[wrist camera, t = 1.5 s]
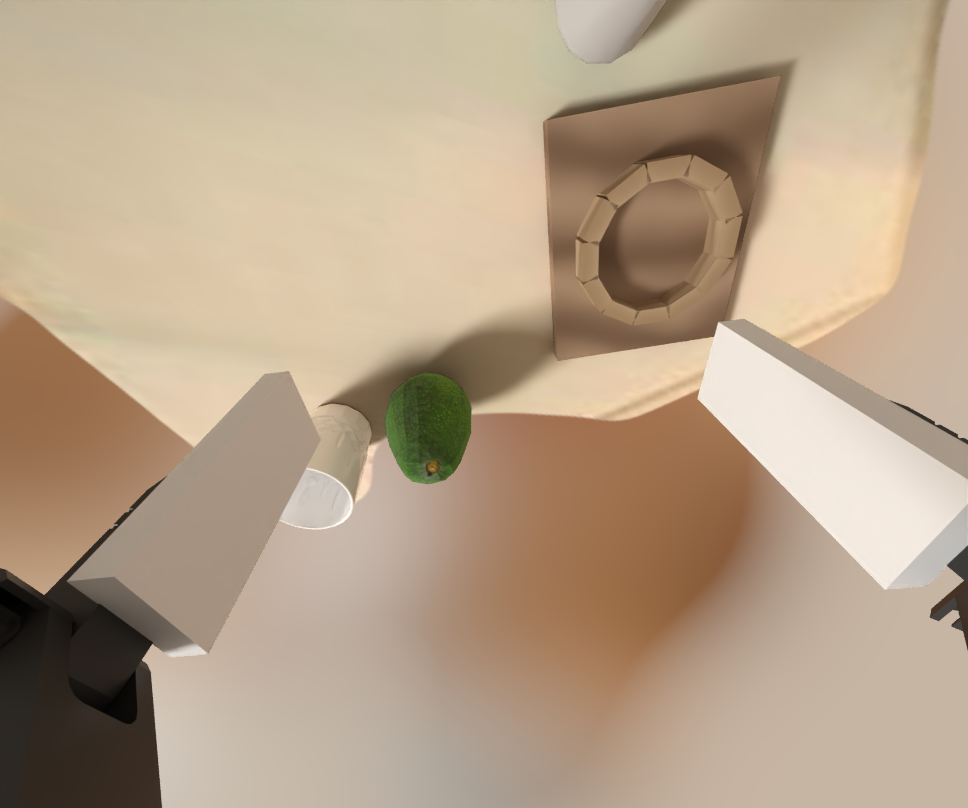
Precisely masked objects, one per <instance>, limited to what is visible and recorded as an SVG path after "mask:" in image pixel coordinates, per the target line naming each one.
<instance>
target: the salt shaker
mask: <svg viewBox="0 0 968 808" xmlns="http://www.w3.org/2000/svg"><path fill="white" fill-rule="evenodd" d="M666 1H667V0H555V2H556V12H557V22H558V29H559V31H560V33H561V35H562V37H563V40H564V42H565V44H566V46H567V48H568V50H569V52H571V53H572V54H574V55H575V56H577V57H578V58H579V59H581V60H582V61H584V62H585V63H587V64H600V63H611V62H613V61H614V60H616V59H618V58H619V57H621V56H622V55H624V54H626V53H627V52H629V51H630V50H632V49H633V47H634V46H635V45H636V43H637V42H638V40H639V39H640V38H641V36H642V35H643V34H644V32H645V31H646V29H647V28H648V27H649V25H650V24H651V22H652V21H653V20H654V18H655V17H656V15H657V14H658V12H659V11H660V10H661V8H662V7H663V5H664V4H665V2H666Z"/></svg>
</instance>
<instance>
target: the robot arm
mask: <svg viewBox="0 0 968 808" xmlns="http://www.w3.org/2000/svg"><path fill="white" fill-rule="evenodd" d="M698 399H699V401H700V402H701V403H702V404H703V405H704V406H705V407H706V408H707V409H708V410H709V411H710V412H711V413H712V414H713V415H714V416H715V417H716V418H717V419H718V420H719V421H720V422H721V423H722V424H723V425H724V426H725V427H726V428H727V429H728V430H729V431H730V432H731V433H732V434H733V435H734V436H735V437H736V438H737V439H738V440H739V441H740V442H741V443H742V444H743V445H744V446H745V447H746V448H747V449H748V451H750V452H751V454H753V456H754V457H755V458H756V459H757V460H758V461H759V462H760V463H761V464H762V465H763V466H764V467H765V468H766V469H767V470H768V471H769V472H770V473H771V474H772V475H773V476H774V477H775V478H776V479H777V480H778V481H779V482H780V483H781V484H782V485H783V486H784V487H785V488H786V489H787V490H788V491H789V492H790V493H791V494H792V495H793V496H794V497H795V498H796V499H797V500H798V501H799V502H800V504H801V505H802V506H803V507H804V508H805V509H806V510H807V511H808V512H809V513H810V514H811V515H812V516H813V517H814V518H815V519H816V520H817V521H818V522H819V523H820V524H821V525H822V526H823V527H824V528H825V529H826V530H827V531H828V532H829V533H830V534H831V535H832V536H833V537H834V538H835V539H836V540H837V541H838V542H839V543H840V544H841V545H842V546H843V547H844V548H845V549H846V550H847V551H848V552H849V554H850V555H851V556H852V557H853V558H854V559H855V560H856V561H857V562H858V563H859V564H860V565H861V566H862V567H863V568H864V569H865V570H866V571H867V572H868V573H869V574H870V575H871V576H872V577H873V578H874V579H875V580H876V581H877V582H878V583H879V584H880V585H881V586H882V587H883V588H884V589H885V590H887V589H899V588H909V587H920V586H927V585H928V584H929V583H930V582H931V581H932V580H933V579H934V578H936V577H937V576H938V575H939V574H940V573H941V572H942V571H943V570H944V569H945V568H946V567H947V566H948V567H949V568H950V569H952V570H953V571H954V572H955V573H956V574H958V575H959V576H960V577H961V578H962V579H963V580H964V581H963V582H962V583H961V584H960V585H958V586H957V587H956V588H955V589H954V590H953V591H952V592H950V593H949V594H948V595H947V596H946V597H944V599H942V600H941V601H940V602H939V603H938V604H936V605H935V606H934V607H933V608H932V609H931V614H930V618H932V619H935V620H937V621H939V620H941V619H942V618H943V617H944V616H945V615H947V614H948V613H949V612H951V611H952V610H957V611H959V616H960V618H959V619H957V620H956V621H955V622H954V623H953V624H952V627H954V628H957V629H959V630H961V631H963V632H964V637H965V641H966V645H967V649H968V440H967V439H965V438H958V434H956V433H954V432H952V431H950V430H949V429H947V428H945V427H943V426H942V425H935V422H934V421H932V420H931V419H929V418H927V417H925V416H923V415H922V414H920V413H918V412H916V411H914V410H913V409H911V408H909V407H907V406H904V405H901V404H899V403H896V402H893V401H890V400H888V399H886V398H884V397H882V396H880V395H879V394H877V393H875V392H873V391H871V390H870V389H868V388H866V387H864V386H863V385H861V384H859V383H857V382H855V381H854V380H852V379H850V378H848V377H846V376H845V375H843V374H841V373H839V372H838V371H836V370H834V369H832V368H831V367H828V366H827V365H825V364H823V363H822V362H820V361H818V360H816V359H815V358H813V357H811V356H809V355H807V354H806V353H804V352H802V351H800V350H799V349H797V348H795V347H793V346H791V345H790V344H788V343H786V342H784V341H783V340H781V339H779V338H777V337H775V336H774V335H772V334H770V333H768V332H766V331H765V330H763V329H761V328H759V327H758V326H756V325H754V324H752V323H750V322H749V321H747V320H745V319H740V320H731V321H723V322H718V325H717V329H716V333H715V336H714V340H713V344H712V347H711V351H710V355H709V358H708V362H707V366H706V369H705V373H704V377H703V381H702V384H701V388H700V392H699V395H698ZM320 441H321V439H320V437H319V434H318V432H317V430H316V428H315V426H314V424H313V422H312V420H311V417H310V415H309V413H308V411H307V409H306V407H305V405H304V402H303V400H302V398H301V396H300V394H299V392H298V390H297V387H296V385H295V383H294V381H293V379H292V377H291V375H290V372H289V371H288V372H279V373H271V374H264V375H263V377H262V378H261V379H260V380H259V381H258V382H257V383H256V384H255V385H254V386H253V387H252V388H251V389H250V390H249V391H248V392H247V393H246V394H245V395H244V396H243V397H242V398H241V400H240V401H239V402H238V403H237V404H236V405H235V406H234V407H233V408H232V409H231V410H230V411H229V412H228V413H227V414H226V415H225V416H224V417H223V418H222V419H221V420H220V421H219V423H218V424H217V425H216V426H215V427H214V428H213V429H212V430H211V431H210V432H209V433H208V434H207V435H206V436H205V437H204V438H203V439H202V440H201V441H200V442H199V443H198V444H197V446H196V447H195V448H194V449H193V450H192V451H191V452H190V453H189V454H188V455H187V456H186V457H185V458H184V459H183V460H182V461H181V462H180V463H179V464H178V465H177V466H176V468H175V469H174V470H173V471H172V472H171V473H170V474H169V475H168V476H166V477H165V478H163V479H162V480H161V481H159V482H158V483H157V484H155V485H154V486H152V487H151V488H149V489H148V490H147V491H146V492H145V493H144V494H143V495H142V496H141V497H140V498H139V499H138V500H137V501H136V502H135V503H134V504H133V505H132V506H131V507H130V508H129V512H126V513H124V514H123V515H122V516H121V517H120V518H119V519H118V521H117V522H116V523H115V524H114V528H113V529H109V530H108V531H107V532H106V533H105V534H104V535H103V536H102V537H101V538H100V539H99V540H98V541H97V542H96V543H95V544H94V545H93V546H92V547H91V548H90V549H89V550H88V551H87V552H86V553H85V554H84V555H83V556H82V557H81V558H80V559H79V560H78V561H77V562H76V563H75V565H74V566H73V567H72V568H71V569H70V570H69V571H68V572H67V573H66V574H65V575H64V576H63V577H62V578H61V579H60V580H59V581H58V582H57V583H56V584H55V585H54V586H53V587H52V588H51V589H50V590H49V591H48V592H47V593H46V594H45V595H43V594H42V593H40V592H38V591H37V590H35V589H34V588H33V587H31V586H30V585H28V584H27V583H25V582H23V581H22V580H21V579H19V578H18V577H16V576H15V575H13V574H12V573H10V572H8V571H7V570H5V569H1V568H0V808H162V803H161V790H160V778H159V766H158V755H157V742H156V731H155V718H154V706H153V694H152V682H151V672H150V670H149V667H148V665H147V664H146V663H145V662H143V661H142V658H143V657H144V656H145V654H146V652H147V651H148V650H149V648H150V646H151V645H152V644H154V645H155V646H156V647H157V648H159V649H160V650H162V651H163V652H164V653H166V654H167V655H168V656H170V657H179V656H190V655H200V654H208V653H209V652H210V650H211V648H212V646H213V644H214V642H215V640H216V638H217V637H218V635H219V633H220V631H221V629H222V627H223V625H224V623H225V621H226V620H227V618H228V616H229V614H230V612H231V610H232V608H233V606H234V604H235V602H236V601H237V599H238V597H239V595H240V593H241V591H242V589H243V587H244V585H245V583H246V581H247V580H248V578H249V576H250V574H251V572H252V570H253V568H254V566H255V564H256V562H257V561H258V559H259V557H260V555H261V553H262V551H263V549H264V547H265V545H266V544H267V542H268V540H269V538H270V536H271V534H272V532H273V530H274V528H275V526H276V524H277V523H278V521H279V519H280V517H281V515H282V513H283V511H284V509H285V507H286V506H287V504H288V502H289V500H290V498H291V496H292V494H293V492H294V490H295V488H296V487H297V485H298V483H299V481H300V479H301V477H302V475H303V473H304V471H305V469H306V468H307V466H308V464H309V462H310V460H311V458H312V456H313V454H314V452H315V450H316V449H317V447H318V445H319V443H320Z"/></svg>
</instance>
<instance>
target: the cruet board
mask: <svg viewBox="0 0 968 808" xmlns="http://www.w3.org/2000/svg"><path fill="white" fill-rule="evenodd" d="M780 78H781V76H776V77H771V78H765V79H760V80H755V81H749V82H744V83H739V84H734V85H728V86H723V87H718V88H713V89H707V90H702V91H697V92H692V93H686V94H681V95H676V96H670V97H665V98H660V99H655V100H649V101H644V102H639V103H634V104H628V105H623V106H618V107H613V108H607V109H602V110H597V111H592V112H586V113H581V114H576V115H570V116H565V117H560V118H555V119H549V120H546V121H544V122H543V130H544V151H545V171H546V192H547V213H548V234H549V254H550V275H551V296H552V317H553V338H554V354H555V356H556V359H557V361H560V360H566V359H573V358H579V357H586V356H592V355H598V354H605V353H611V352H618V351H624V350H631V349H637V348H644V347H650V346H656V345H663V344H669V343H676V342H682V341H689V340H695V339H702V338H708V337H714V336H715V333H716V329H717V325H718V322H723V321H724V319H725V315H726V311H727V306H728V302H729V298H730V293H731V289H732V285H733V280H734V276H735V272H736V268H737V263H738V259H739V255H740V250H741V246H742V242H743V237H744V233H745V229H746V224H747V220H748V216H749V212H750V207H751V203H752V199H753V194H754V190H755V186H756V181H757V177H758V173H759V169H760V164H761V160H762V156H763V151H764V147H765V143H766V138H767V134H768V130H769V126H770V121H771V117H772V113H773V108H774V104H775V100H776V95H777V91H778V87H779V83H780Z"/></svg>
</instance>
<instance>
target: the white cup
mask: <svg viewBox="0 0 968 808" xmlns="http://www.w3.org/2000/svg"><path fill="white" fill-rule="evenodd" d="M310 417H311V420H312V422H313V424H314V426H315V428H316V430H317V432H318V434H319V437H320V439H321V441H320V443H319V445H318V447H317V449H316V450H315V452H314V454H313V456H312V458H311V460H310V462H309V464H308V466H307V468H306V469H305V471H304V473H303V475H302V477H301V479H300V481H299V483H298V485H297V487H296V488H295V490H294V492H293V494H292V496H291V498H290V500H289V502H288V504H287V506H286V507H285V509H284V511H283V513H282V515H281V517H280V519H279V520H280V521H282V522H284V523H287V524H289V525H293V526H296V527H300V528H305V529H325V528H331V527H334V526H337V525H339V524H341V523H343V522H344V521H345V520H347V519H348V518H349V516H350V515H351V514H352V511H353V508H354V505H355V501H356V497H357V493H358V490H359V486H360V482H361V479H362V475H363V471H364V466H365V463H366V458H367V450H368V446H369V442H370V439H371V435H372V432H371V428H370V425H369V422H368V421H367V420H366V418H365V417H364V416H363V415H362V414H361V413H360V412H358V411H356V410H355V409H353V408H351V407H349V406H346V405H339V404H328V405H324V406H320V407H317V408H316V409H315V410H314V411H313V412H312V413H311V414H310Z"/></svg>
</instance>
